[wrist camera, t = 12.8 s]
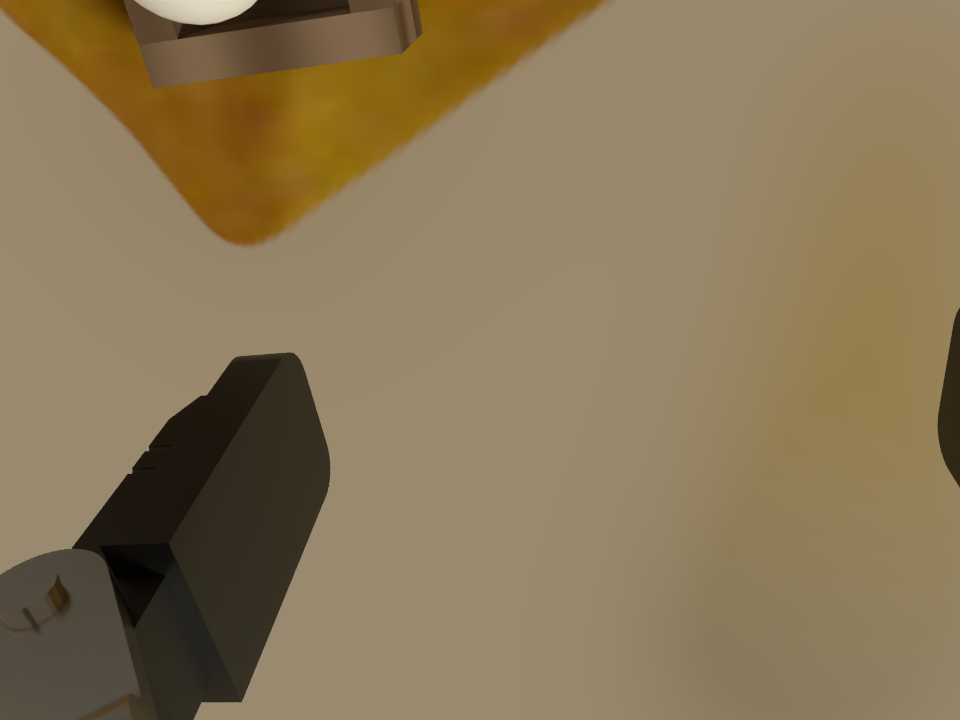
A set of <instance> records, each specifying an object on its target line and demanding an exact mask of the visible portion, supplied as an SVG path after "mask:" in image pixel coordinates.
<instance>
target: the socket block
mask: <svg viewBox="0 0 960 720" xmlns="http://www.w3.org/2000/svg"><path fill="white" fill-rule="evenodd" d="M124 3H125V6H126V9H127V12H128V15H129V18H130V21H131V24H132V27H133V30H134V33H135V36H136V39H137V41H138V44H139V47H140V50H141V53H142V56H143V59H144V62H145V65H146V68H147V71H148V74H149V77H150V80H151V82H152V85H153V88H158V87H165V86H173V85H180V84H187V83H194V82H201V81H208V80H216V79H223V78H230V77H237V76H244V75H252V74H259V73H266V72H273V71H280V70H287V69H295V68H302V67H309V66H316V65H323V64H331V63H338V62H345V61H352V60H359V59H366V58H374V57H381V56H388V55H395V54H402V53H403V52H404V51H405V50H406V49H407V48H408V47H409V46H410V45H411V44H412V43H413V42H414V41H415V40H416V39H417V38H418V37H419V36H420V35H421V34H422V27H421V21H420V15H419V9H418V4H417V0H257V1H256V2H255V3H254V4H253V5H252V6H251V7H250V8H249V9H247V10H246V11H244V12H243V13H241V14H240V15H238V16H236V17H233V18H230V19H228V20H225V21H222V22H219V23H214V24H206V25H196V24H186V23H180V22H176V21H173V20H170V19H166V18H163V17H161V16H159V15H157V14H155V13H153V12H151V11H149V10H147V9H146V8H144V7H143V6H141V5H140V4H138V3H137V2H136V1H134V0H124Z"/></svg>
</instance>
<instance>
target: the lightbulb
mask: <svg viewBox="0 0 960 720" xmlns="http://www.w3.org/2000/svg"><path fill="white" fill-rule="evenodd" d="M134 1H136V2H137V3H138V4H140V5H141V6H143V7H144V8H146V9H147V10H149V11H151V12H153V13H155V14H157V15H159V16H161V17H163V18H166V19H170V20H173V21H176V22H180V23H186V24H196V25H206V24H214V23H219V22H222V21H225V20H228V19H230V18H233V17H236V16H238V15H240V14H241V13H243V12H244V11H246V10H247V9H249V8H250V7H251V6H252V5H253V4H254V3H255V2H256V1H257V0H134Z"/></svg>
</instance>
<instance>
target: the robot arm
mask: <svg viewBox="0 0 960 720" xmlns="http://www.w3.org/2000/svg"><path fill="white" fill-rule="evenodd" d="M938 437H939V443H940V448H941V452H942V455H943V458H944V461H945V463H946V465H947V467H948V469H949V471H950V472H951V474H952V476H953V477H954V479H955V481H956V482H957V484H958V485H959V487H960V308H959V310H958V312H957V314H956V317H955V321H954V325H953V331H952V336H951V342H950V349H949V355H948V360H947V366H946V372H945V378H944V384H943V389H942V395H941V401H940V407H939V413H938ZM132 469H133V473H132V474H127V476H126V477H125V479H124V480H123V481H122V482H121V484H120V485H119V486H118V488H117V489H116V490H115V492H114V493H113V494H112V496H111V497H110V498H109V500H108V501H107V502H106V504H105V505H104V506H103V508H102V509H101V510H100V512H99V513H98V514H97V516H96V517H95V518H94V519H93V521H92V522H91V523H90V525H89V526H88V527H87V529H86V530H85V531H84V533H83V534H82V536H81V537H80V538H79V539H78V541H77V542H76V543H75V545H74V546H73V547H72V549H65V550H58V551H53V552H50V553H46V554H42V555H39V556H37V557H34V558H31V559H29V560H27V561H24V562H22V563H20V564H18V565H16V566H14V567H12V568H11V569H9V570H7V571H6V572H4V573H2V574H1V575H0V720H193V719H194V717H195V715H196V713H197V711H198V709H199V706H200V704H201V702H242V700H243V698H244V695H245V693H246V690H247V688H248V685H249V683H250V680H251V678H252V675H253V673H254V670H255V668H256V666H257V663H258V661H259V658H260V656H261V653H262V651H263V649H264V646H265V644H266V641H267V639H268V636H269V634H270V631H271V629H272V626H273V624H274V622H275V619H276V617H277V614H278V612H279V610H280V607H281V605H282V602H283V599H284V597H285V594H286V592H287V590H288V588H289V585H290V583H291V580H292V578H293V575H294V573H295V570H296V568H297V565H298V563H299V561H300V558H301V556H302V553H303V551H304V548H305V546H306V543H307V541H308V539H309V536H310V534H311V531H312V528H313V526H314V524H315V521H316V519H317V517H318V514H319V512H320V509H321V507H322V504H323V502H324V499H325V497H326V494H327V491H328V487H329V481H330V458H329V452H328V447H327V444H326V440H325V437H324V433H323V430H322V427H321V423H320V420H319V417H318V414H317V410H316V407H315V403H314V400H313V397H312V394H311V390H310V387H309V384H308V380H307V377H306V374H305V371H304V368H303V365H302V363H301V361H300V359H299V358H298V357H297V356H296V355H295V354H294V353H277V354H264V355H251V356H240V357H236V358H234V359H233V360H232V361H231V362H230V364H229V365H228V367H227V368H226V370H225V371H224V372H223V374H222V375H221V376H220V378H219V379H218V381H217V382H216V384H215V385H214V386H213V388H212V389H211V390H210V392H209V393H208V395H206V396H200V397H198V398H197V399H196V400H194V401H193V402H192V403H191V404H189V405H188V406H186V407H185V408H184V409H182V410H181V411H180V412H179V413H177V414H176V415H175V416H173V417H172V418H170V419H169V420H168V422H167V423H166V424H165V425H164V427H163V428H162V430H161V431H160V432H159V434H158V435H157V436H156V437H155V439H154V440H153V441H152V443H151V444H150V445H149V451H146V452H144V453H143V455H142V456H141V457H140V459H139V460H138V461H137V463H136V464H135V465H134V467H133V468H132Z"/></svg>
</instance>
